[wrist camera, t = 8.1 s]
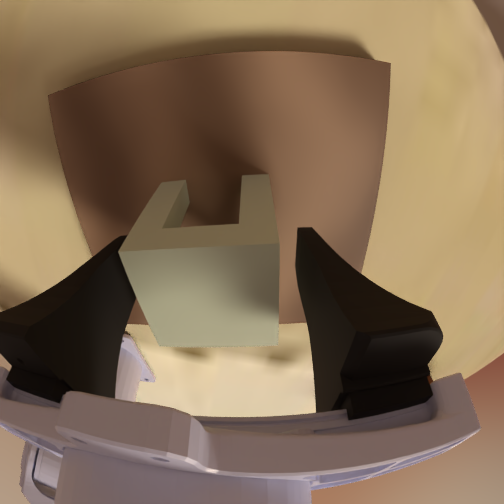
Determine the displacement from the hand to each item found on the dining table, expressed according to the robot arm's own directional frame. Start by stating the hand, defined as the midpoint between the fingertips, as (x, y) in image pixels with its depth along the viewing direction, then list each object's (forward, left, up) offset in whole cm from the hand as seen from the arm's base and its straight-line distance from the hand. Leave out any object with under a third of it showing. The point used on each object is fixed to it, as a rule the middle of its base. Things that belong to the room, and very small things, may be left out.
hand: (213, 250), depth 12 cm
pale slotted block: (0, 0, -2) cm, 2 cm away
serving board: (0, 0, -4) cm, 4 cm away
